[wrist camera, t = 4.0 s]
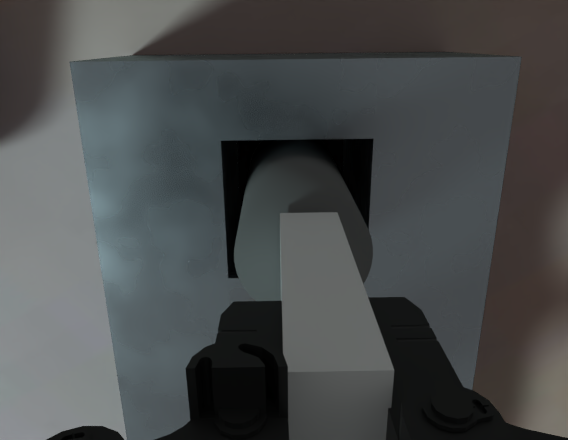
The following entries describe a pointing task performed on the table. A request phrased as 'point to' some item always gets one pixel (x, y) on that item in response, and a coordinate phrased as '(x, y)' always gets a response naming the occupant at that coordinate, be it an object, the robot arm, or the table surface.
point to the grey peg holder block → (226, 197)
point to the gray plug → (291, 210)
